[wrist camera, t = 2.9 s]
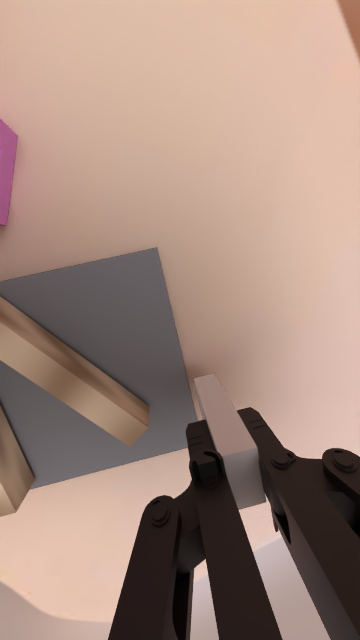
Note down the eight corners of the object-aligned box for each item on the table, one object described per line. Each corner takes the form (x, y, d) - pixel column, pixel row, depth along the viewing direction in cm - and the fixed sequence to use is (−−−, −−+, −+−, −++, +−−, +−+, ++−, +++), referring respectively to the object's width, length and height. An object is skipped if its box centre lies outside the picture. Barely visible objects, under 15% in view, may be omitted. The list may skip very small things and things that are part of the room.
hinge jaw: (-25, 312, 15) (-60, 320, 13) (-8, 290, 15) (-40, 294, 13) (133, 423, 18) (129, 447, 16) (149, 406, 18) (148, 427, 15)
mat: (-68, 297, 15) (-74, 297, 15) (157, 248, 16) (157, 247, 16) (23, 487, 19) (20, 491, 19) (201, 440, 20) (202, 443, 20)
